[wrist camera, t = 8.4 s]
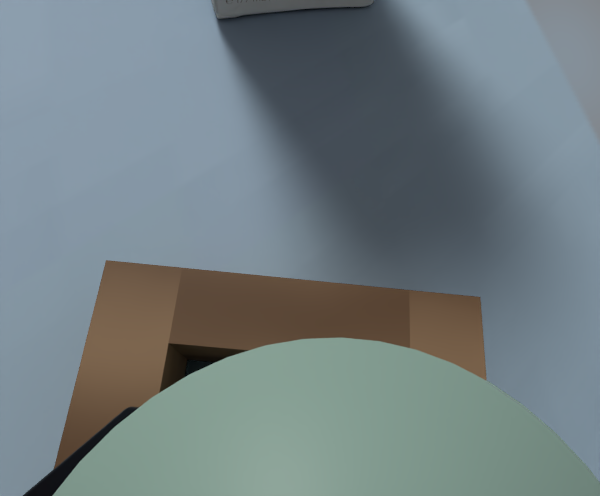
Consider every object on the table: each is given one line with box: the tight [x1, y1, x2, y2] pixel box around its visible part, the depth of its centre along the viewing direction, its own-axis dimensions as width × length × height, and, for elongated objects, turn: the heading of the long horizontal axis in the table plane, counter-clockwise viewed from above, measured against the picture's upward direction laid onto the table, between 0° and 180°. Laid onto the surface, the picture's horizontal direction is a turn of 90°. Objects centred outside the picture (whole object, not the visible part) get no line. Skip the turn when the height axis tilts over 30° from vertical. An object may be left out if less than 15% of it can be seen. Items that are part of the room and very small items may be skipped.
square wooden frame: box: [54, 260, 486, 469], centre depth 13 cm, size 11×11×4 cm
